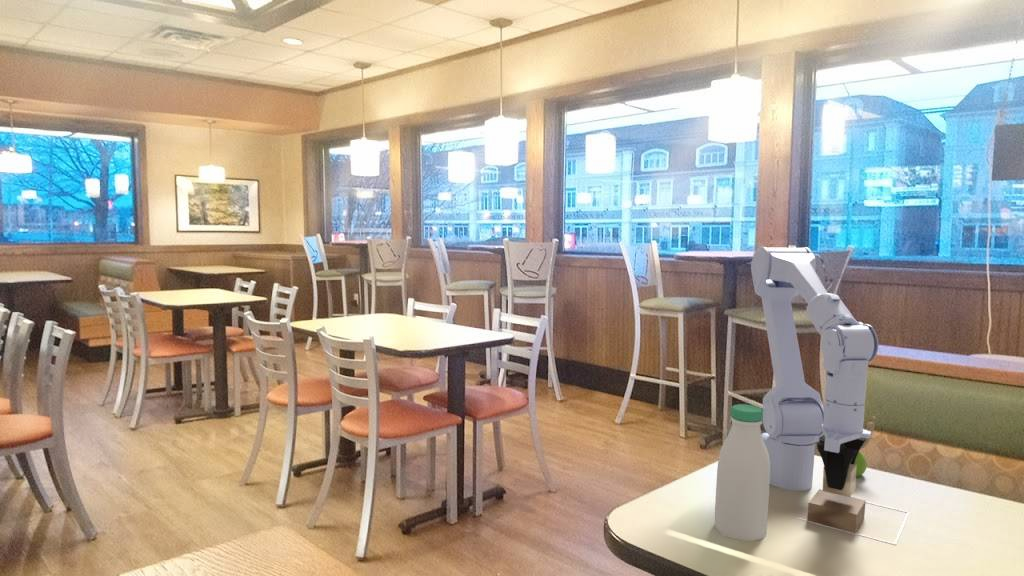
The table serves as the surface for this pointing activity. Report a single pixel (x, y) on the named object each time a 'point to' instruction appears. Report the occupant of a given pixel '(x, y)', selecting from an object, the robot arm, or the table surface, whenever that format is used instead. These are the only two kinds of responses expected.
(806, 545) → the table surface
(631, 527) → the table surface
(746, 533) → the milk bottle
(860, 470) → the snail figurine
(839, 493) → the maple cube
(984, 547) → the table surface
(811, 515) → the walnut base block
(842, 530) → the white rectangular outline marking
